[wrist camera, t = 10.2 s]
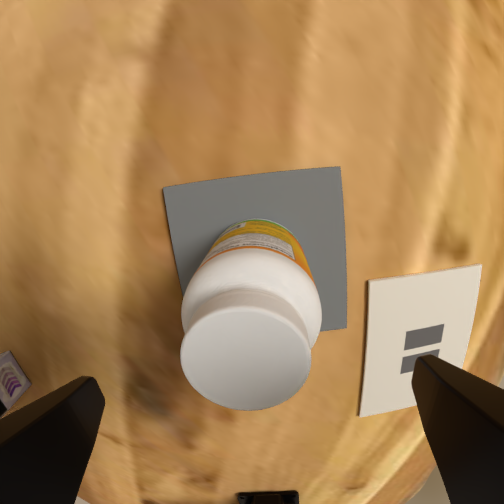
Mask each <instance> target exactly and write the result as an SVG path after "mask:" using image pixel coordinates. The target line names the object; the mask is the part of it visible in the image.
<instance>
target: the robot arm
mask: <svg viewBox="0 0 504 504" xmlns="http://www.w3.org/2000/svg"><path fill="white" fill-rule="evenodd" d="M411 385H412V390H413V393H414V396H415V400H416V403H417V407H418V410H419V414H420V417H421V421H422V425H423V428H424V432H425V434H426V437H427V440H428V442H429V445H430V447H431V450H432V453H433V455H434V458H435V460H436V463H437V466H438V468H439V471H440V474H441V477H442V479H443V482H444V485H445V488H446V491H447V494H448V497H449V500H450V503H451V504H504V389H501V388H499V387H497V386H495V385H493V384H491V383H489V382H487V381H485V380H483V379H481V378H479V377H477V376H475V375H473V374H471V373H469V372H467V371H465V370H463V369H461V368H459V367H457V366H454V365H452V364H450V363H448V362H446V361H444V360H442V359H440V358H438V357H436V356H434V355H432V354H427V355H422V356H419V357H417V358H416V361H415V365H414V370H413V375H412V381H411ZM104 406H105V398H104V396H103V394H102V392H101V389H100V387H99V385H98V383H97V381H96V379H95V378H93V377H89V376H81V377H79V378H77V379H75V380H73V381H71V382H70V383H68V384H66V385H64V386H62V387H60V388H58V389H57V390H55V391H53V392H51V393H49V394H47V395H45V396H44V397H42V398H40V399H38V400H36V401H34V402H32V403H30V404H28V405H27V406H25V407H23V408H21V409H19V410H17V411H15V412H13V413H11V414H9V415H7V416H5V417H4V418H2V419H0V504H74V503H75V500H76V497H77V494H78V491H79V488H80V485H81V482H82V479H83V476H84V473H85V470H86V467H87V464H88V461H89V459H90V456H91V453H92V450H93V447H94V444H95V441H96V437H97V433H98V429H99V425H100V421H101V417H102V414H103V410H104ZM238 500H239V503H240V504H299V493H298V492H297V491H291V492H275V493H239V494H238Z"/></svg>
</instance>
